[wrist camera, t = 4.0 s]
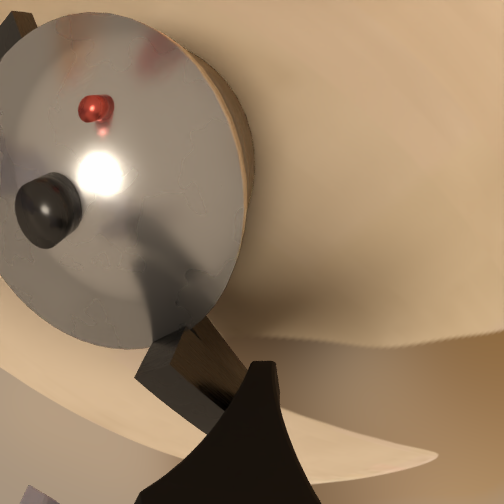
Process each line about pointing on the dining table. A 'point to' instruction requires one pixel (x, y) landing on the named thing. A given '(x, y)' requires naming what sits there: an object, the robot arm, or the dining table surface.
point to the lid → (122, 198)
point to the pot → (24, 23)
